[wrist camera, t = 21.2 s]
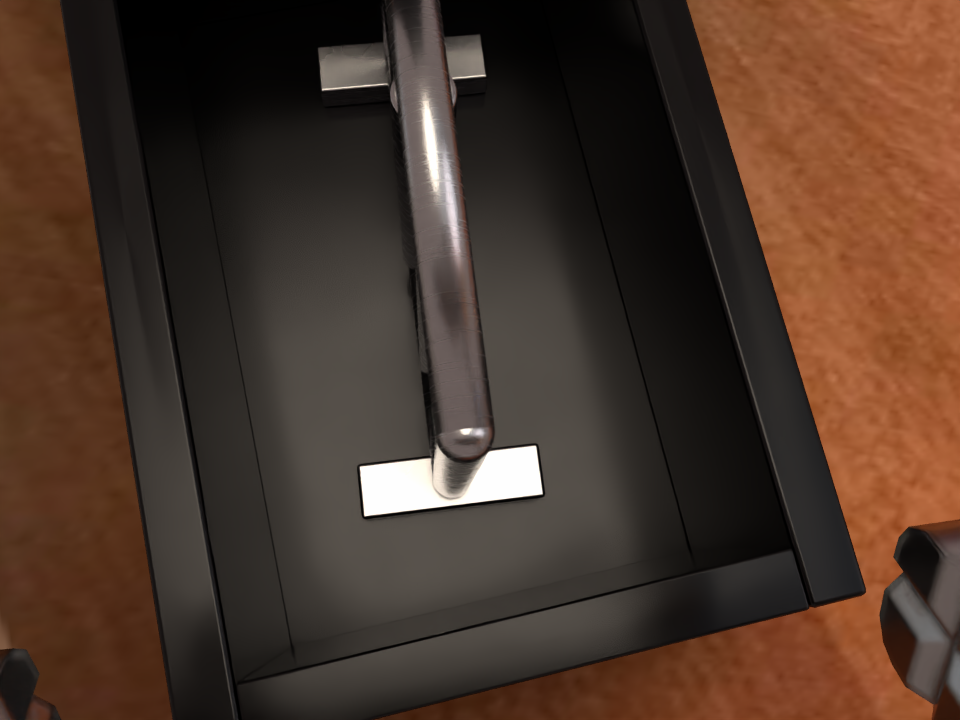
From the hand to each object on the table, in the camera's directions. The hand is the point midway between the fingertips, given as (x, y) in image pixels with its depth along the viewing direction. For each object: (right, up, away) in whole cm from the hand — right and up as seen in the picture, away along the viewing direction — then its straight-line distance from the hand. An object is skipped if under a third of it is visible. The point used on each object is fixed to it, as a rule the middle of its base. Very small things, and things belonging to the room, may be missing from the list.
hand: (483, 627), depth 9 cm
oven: (-1, +4, +14) cm, 15 cm away
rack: (-1, +5, +13) cm, 14 cm away
